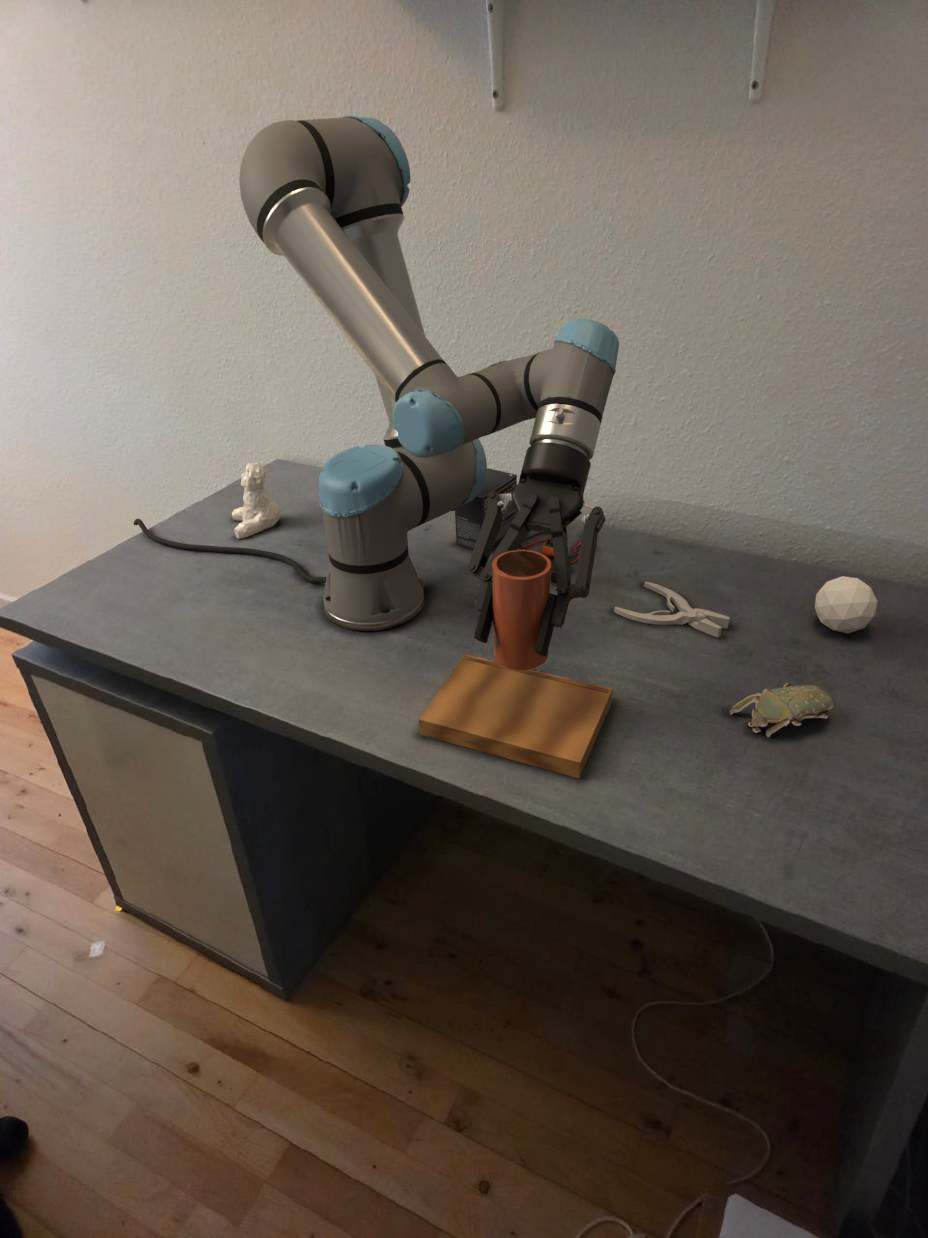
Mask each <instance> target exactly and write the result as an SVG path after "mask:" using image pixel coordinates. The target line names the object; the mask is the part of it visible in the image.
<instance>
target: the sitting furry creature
mask: <svg viewBox="0 0 928 1238" xmlns="http://www.w3.org/2000/svg"><path fill="white" fill-rule="evenodd" d="M240 476H241V479H240V480H241V482H240V486H241V487H243V489H244V490H243V496H242V501H243V506H239V507H237V508H235V509H233V510H232V512H231V518H232V520H234V521H236V522H240V523H238V524H237V525H236V526H235V527H234V528H233V531H234V535H235V537H236V539H238V540H239V539H246V538H249V537H252V536H254V535H256V534H258V533H261V532H264V531H265V530H268V529H271V528H273V527H275V525H276V524H277V523H278V521H280V517H281V510H280V507H279V505H278V504H277V502H275V501H274V500H273V499H272V498H271V497H270V496H269V494H268V492H267V491H268V490H267V488H265V487H264V484H265V479H266V471H265V468H263V466H262V464H261V462H260V461H257V462H255V463H254V462H252V461H250V462H248V463H247V464H245V471H244V472H243V473H241V474H240Z"/></svg>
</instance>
